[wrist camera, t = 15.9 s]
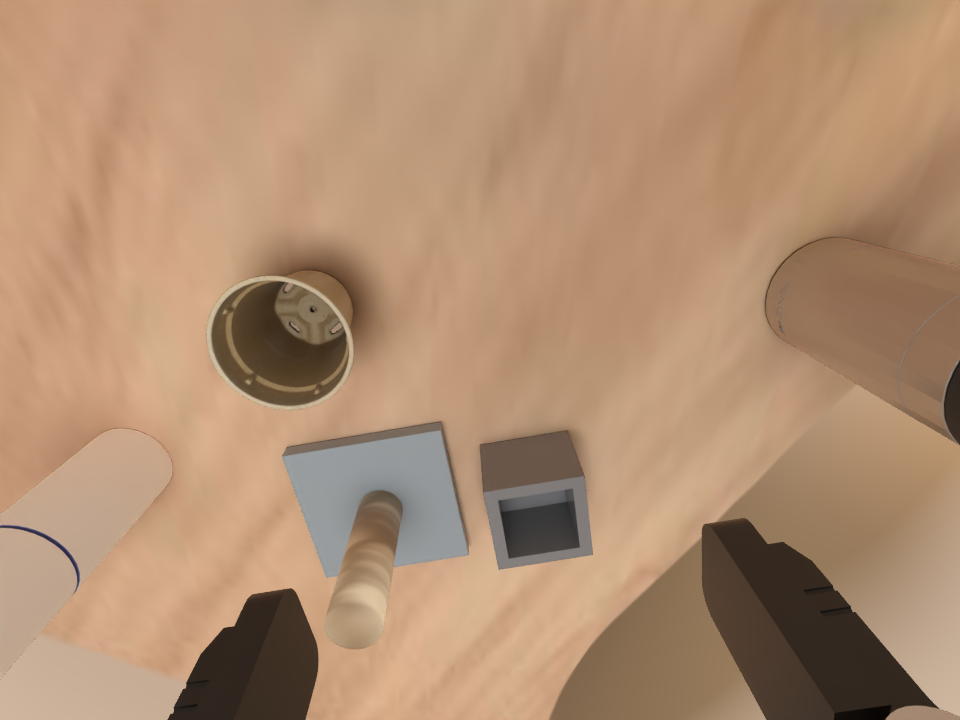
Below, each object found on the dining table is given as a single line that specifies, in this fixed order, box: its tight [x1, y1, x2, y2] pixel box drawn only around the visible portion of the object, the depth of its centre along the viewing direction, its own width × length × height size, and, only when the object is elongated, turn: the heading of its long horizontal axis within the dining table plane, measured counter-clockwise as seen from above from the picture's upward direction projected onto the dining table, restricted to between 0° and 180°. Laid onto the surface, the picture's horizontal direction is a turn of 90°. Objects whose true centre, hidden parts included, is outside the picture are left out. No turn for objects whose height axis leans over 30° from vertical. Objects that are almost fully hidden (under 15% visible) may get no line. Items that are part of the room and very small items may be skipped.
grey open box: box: [480, 431, 593, 570], centre depth 46 cm, size 8×8×7 cm
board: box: [282, 422, 469, 578], centre depth 48 cm, size 14×14×2 cm
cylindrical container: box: [0, 428, 173, 679], centre depth 35 cm, size 7×7×25 cm
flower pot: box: [206, 270, 354, 410], centre depth 38 cm, size 9×9×9 cm
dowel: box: [324, 490, 403, 649], centre depth 42 cm, size 4×4×13 cm
